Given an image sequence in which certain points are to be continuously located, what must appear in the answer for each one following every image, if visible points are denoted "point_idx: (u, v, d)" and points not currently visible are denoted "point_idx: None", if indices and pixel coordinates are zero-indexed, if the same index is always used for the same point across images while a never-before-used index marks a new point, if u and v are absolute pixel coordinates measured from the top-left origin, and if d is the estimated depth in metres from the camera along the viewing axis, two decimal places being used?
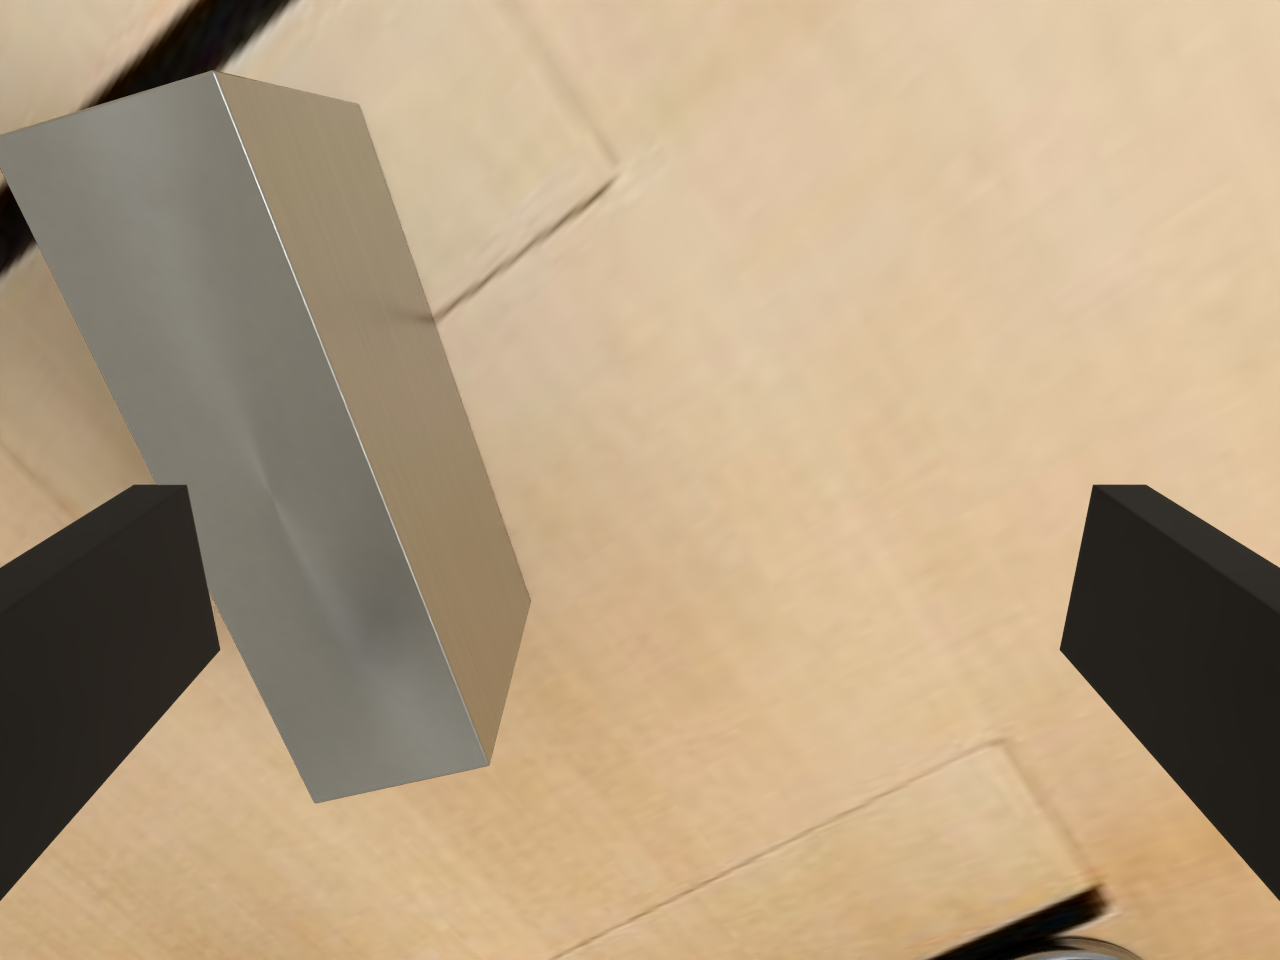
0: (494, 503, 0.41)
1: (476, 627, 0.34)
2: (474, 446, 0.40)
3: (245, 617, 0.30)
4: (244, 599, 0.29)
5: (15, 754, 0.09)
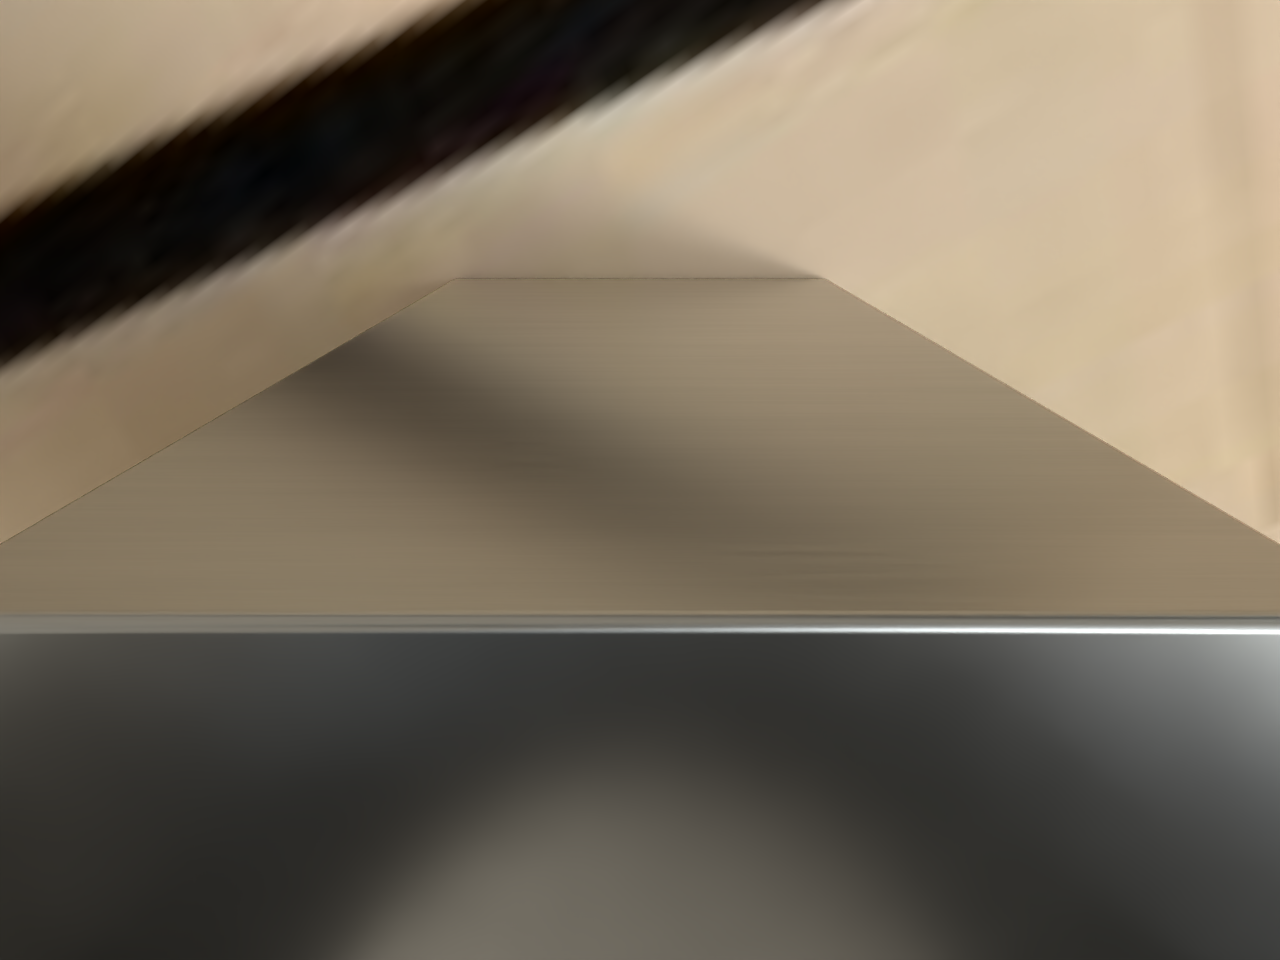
0: None
1: None
2: None
3: None
4: None
5: None
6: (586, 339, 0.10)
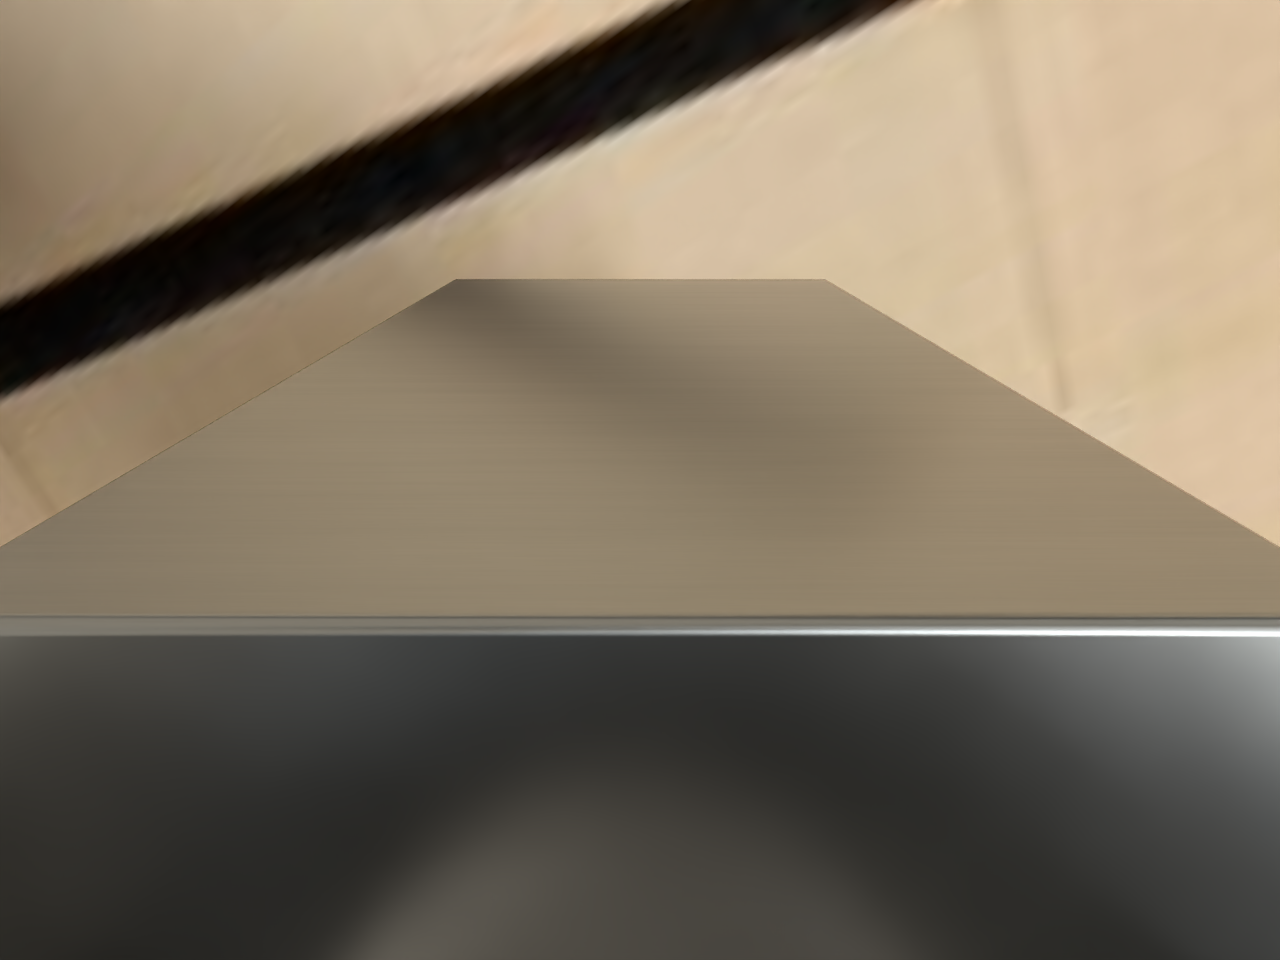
0: None
1: None
2: None
3: None
4: None
5: None
6: (586, 340, 0.10)
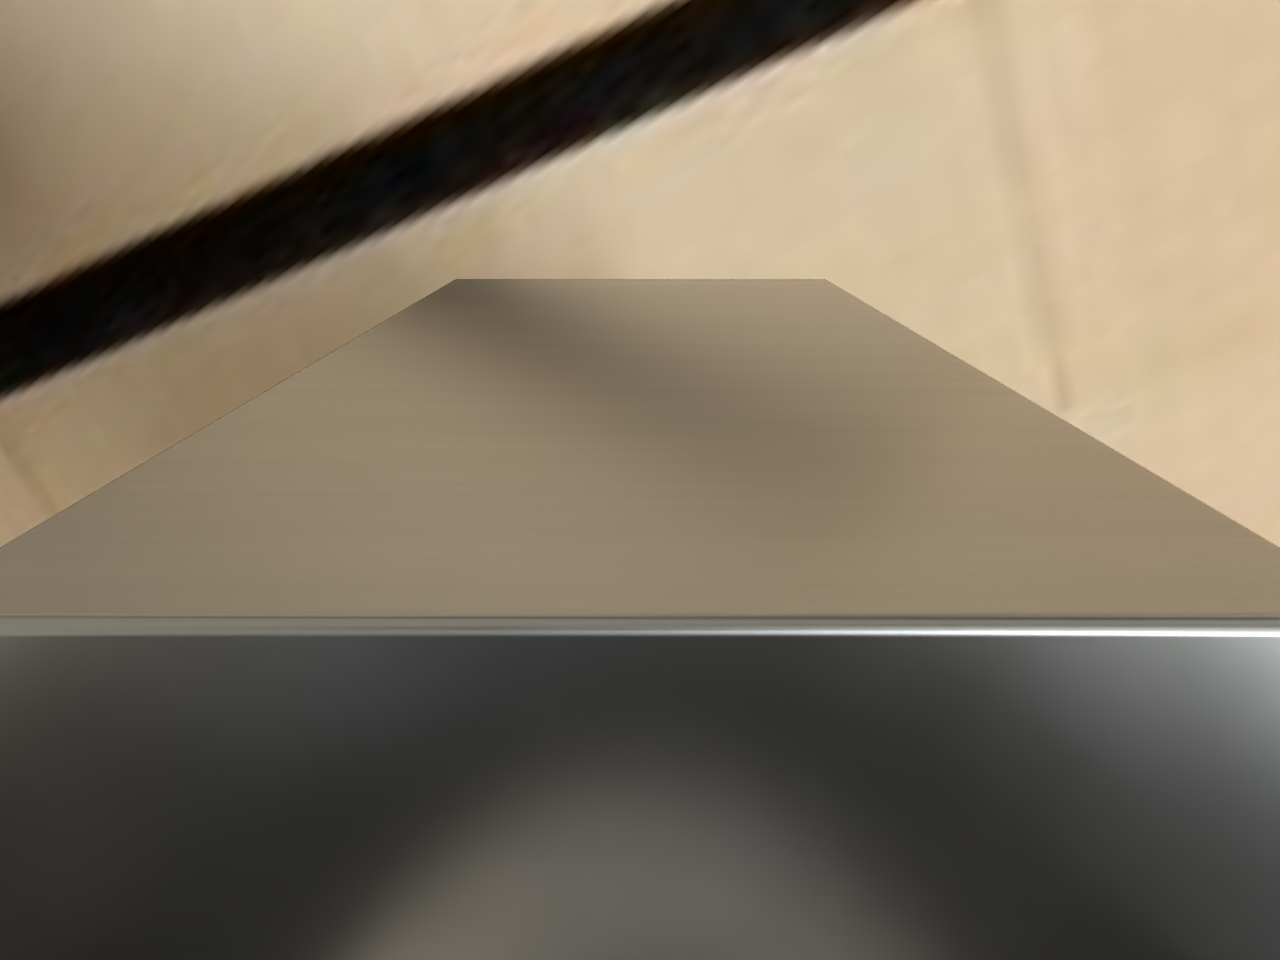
0: None
1: None
2: None
3: None
4: None
5: None
6: (586, 340, 0.10)
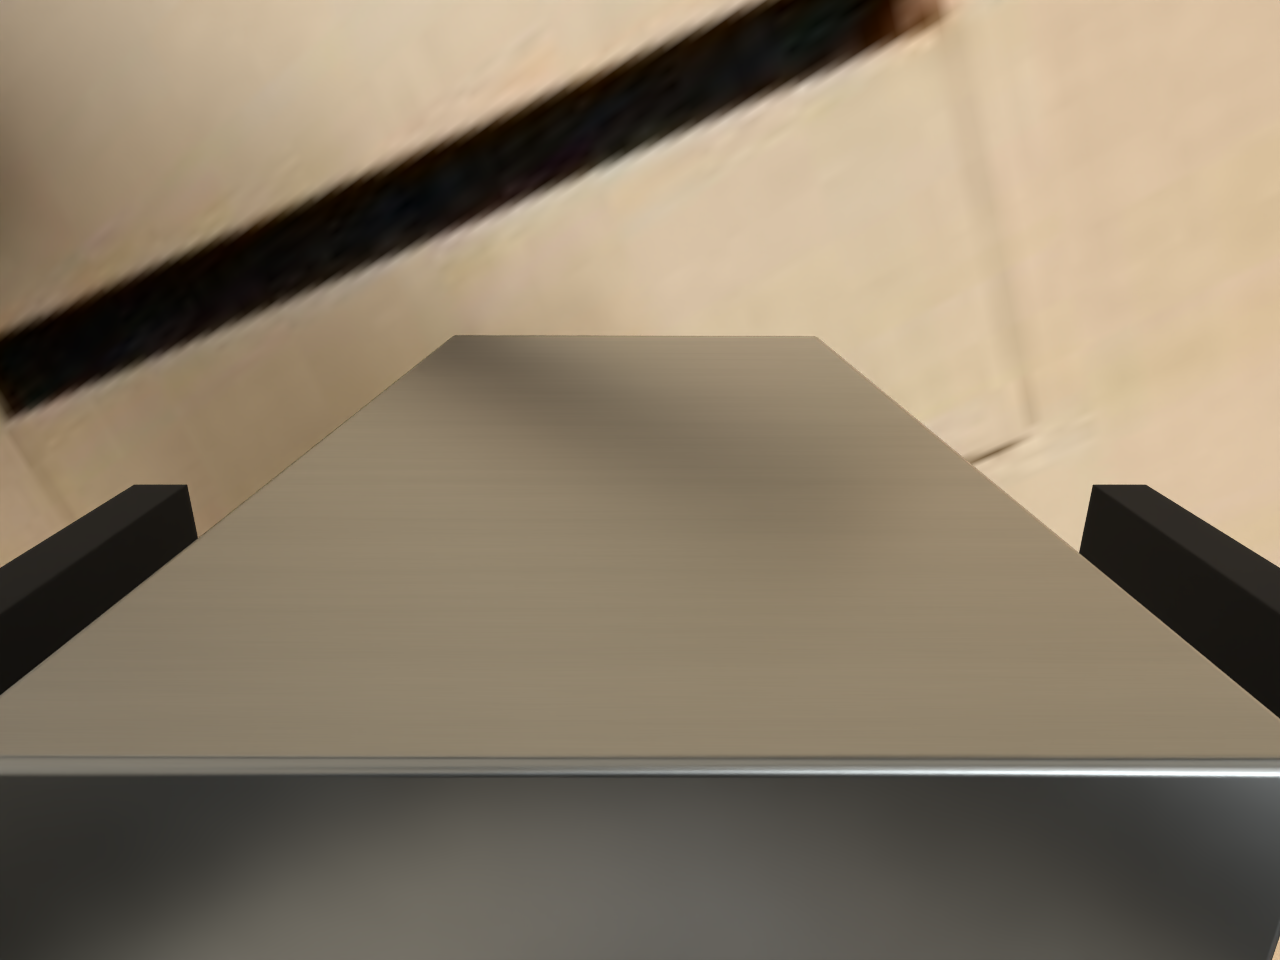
0: None
1: None
2: None
3: None
4: None
5: None
6: (581, 415, 0.11)
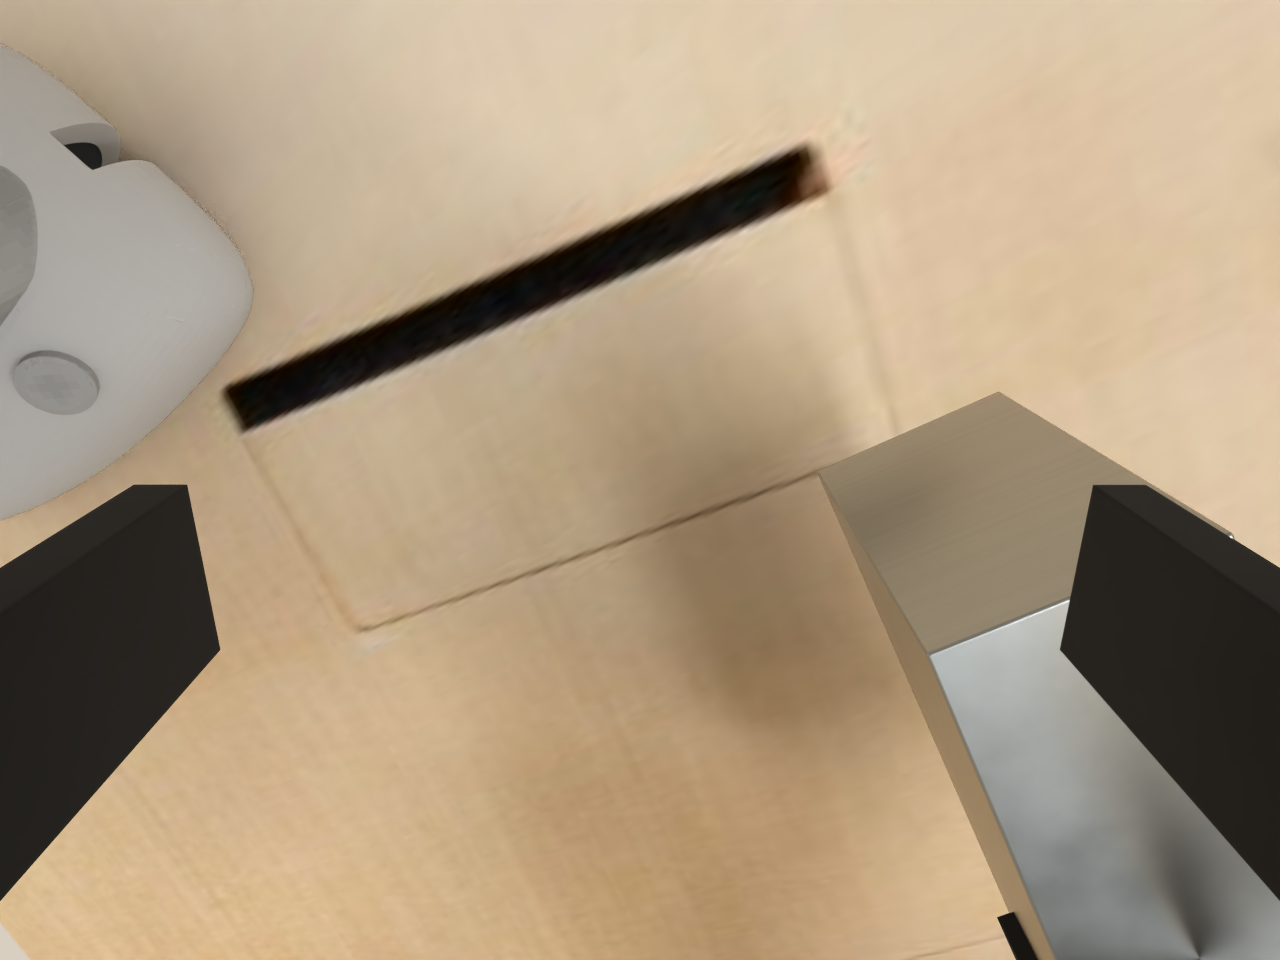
0: None
1: None
2: None
3: None
4: None
5: (16, 754, 0.09)
6: (946, 498, 0.26)
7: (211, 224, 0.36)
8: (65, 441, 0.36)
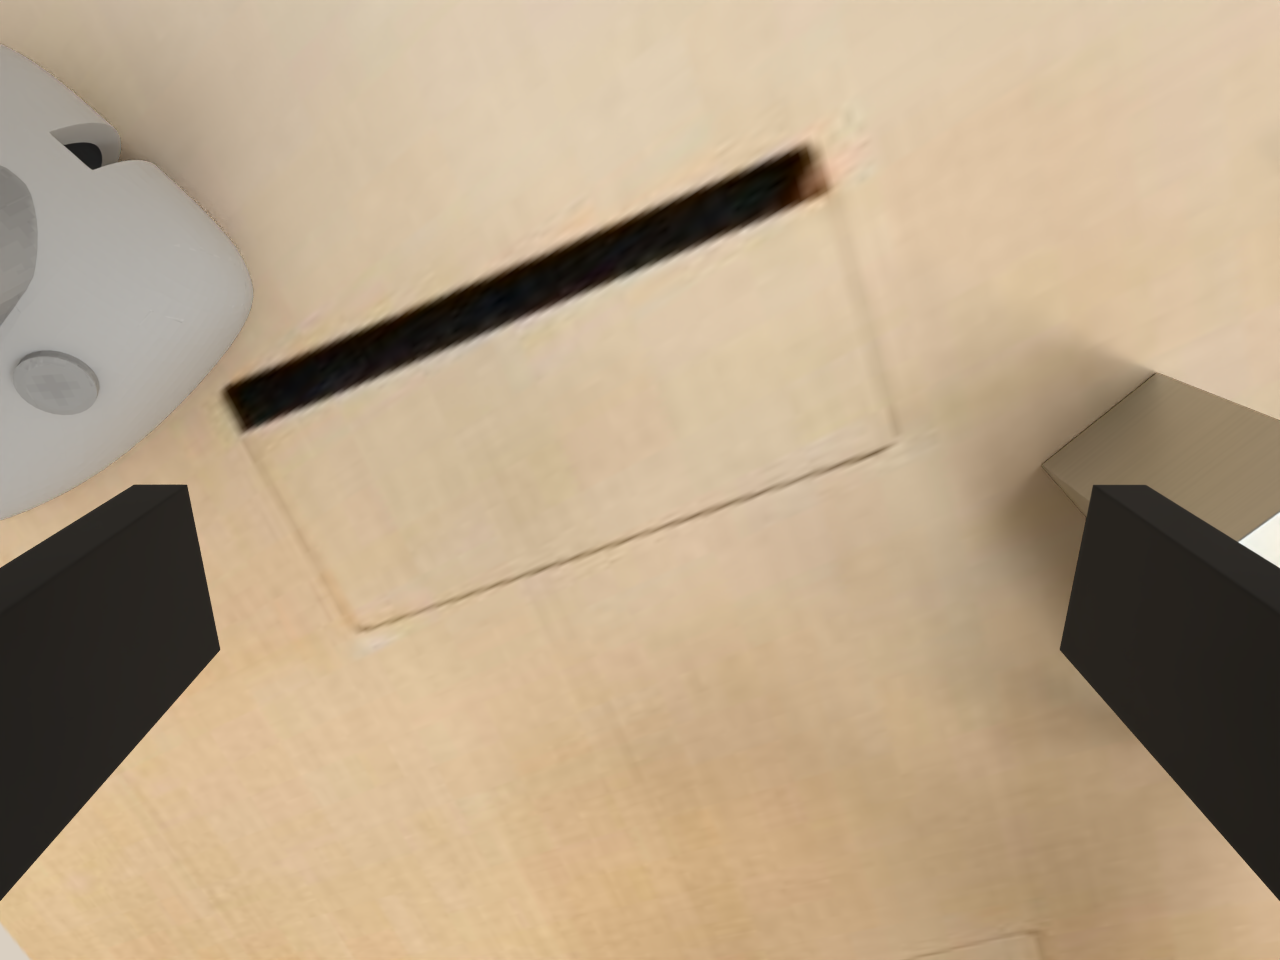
0: None
1: None
2: None
3: None
4: None
5: (16, 754, 0.09)
6: (1155, 467, 0.38)
7: (211, 224, 0.36)
8: (65, 441, 0.36)
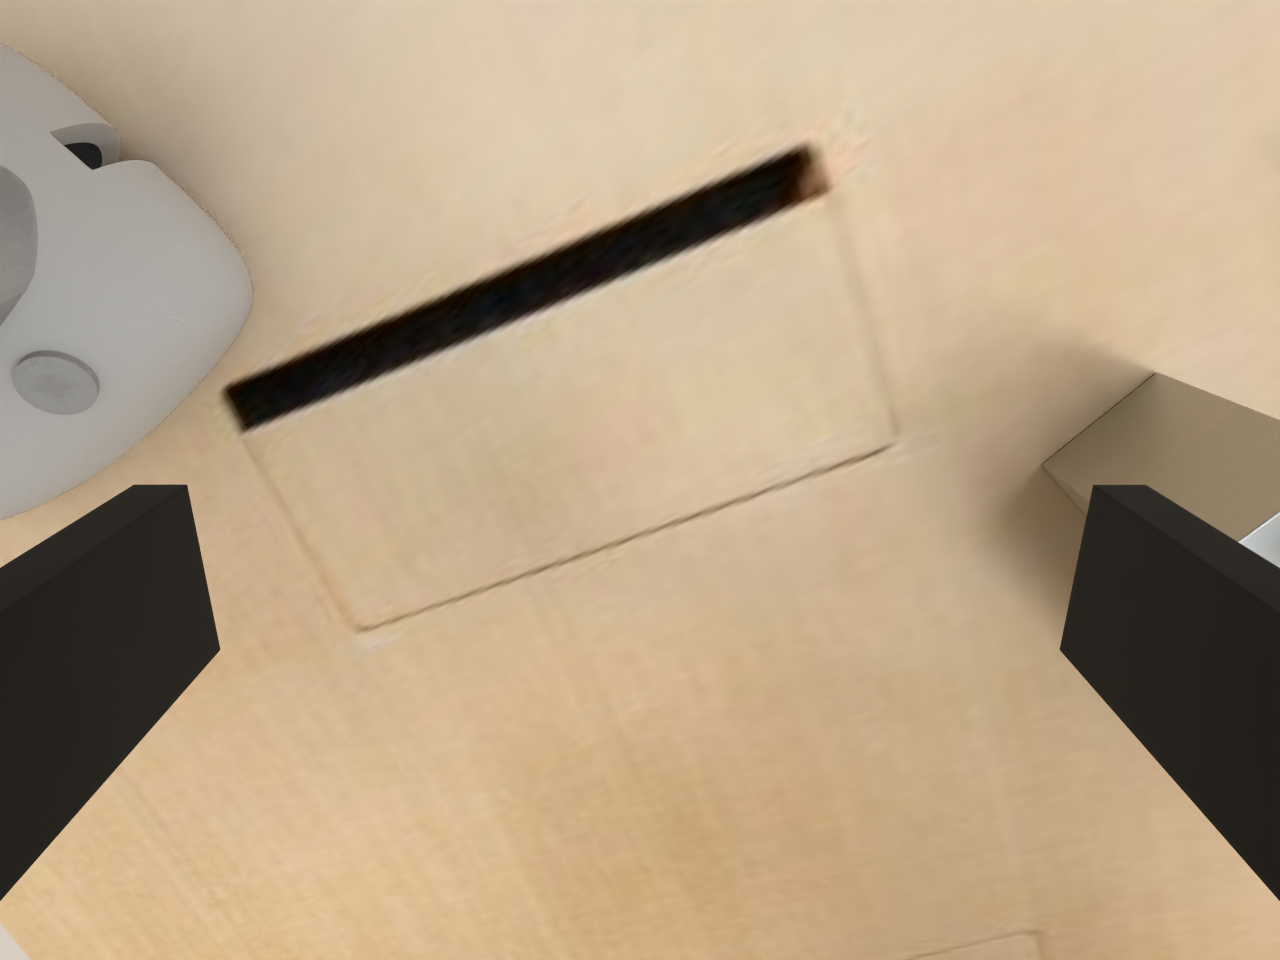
0: None
1: None
2: None
3: None
4: None
5: (16, 754, 0.09)
6: (1155, 467, 0.38)
7: (211, 224, 0.36)
8: (65, 441, 0.36)
